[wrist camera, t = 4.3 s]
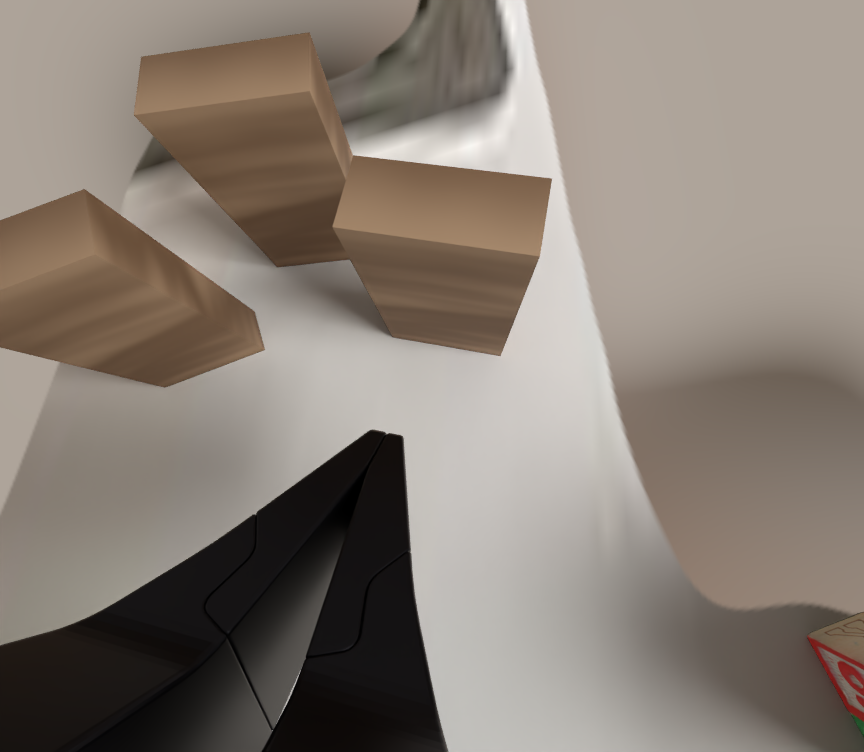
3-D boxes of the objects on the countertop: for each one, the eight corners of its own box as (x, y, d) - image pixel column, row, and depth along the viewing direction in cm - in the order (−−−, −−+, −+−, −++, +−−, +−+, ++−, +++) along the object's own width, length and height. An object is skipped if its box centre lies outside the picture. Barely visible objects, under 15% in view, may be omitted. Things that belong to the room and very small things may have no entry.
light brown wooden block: (376, 256, 22) (309, 91, 12) (277, 267, 22) (133, 115, 12) (374, 216, 22) (309, 27, 13) (278, 227, 23) (141, 52, 13)
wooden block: (500, 355, 20) (539, 256, 10) (392, 337, 21) (332, 227, 11) (508, 309, 20) (552, 172, 11) (403, 292, 21) (354, 150, 11)
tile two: (264, 349, 21) (94, 254, 11) (165, 387, 21) (-93, 324, 11) (253, 308, 22) (83, 183, 12) (156, 345, 21) (-95, 250, 12)
